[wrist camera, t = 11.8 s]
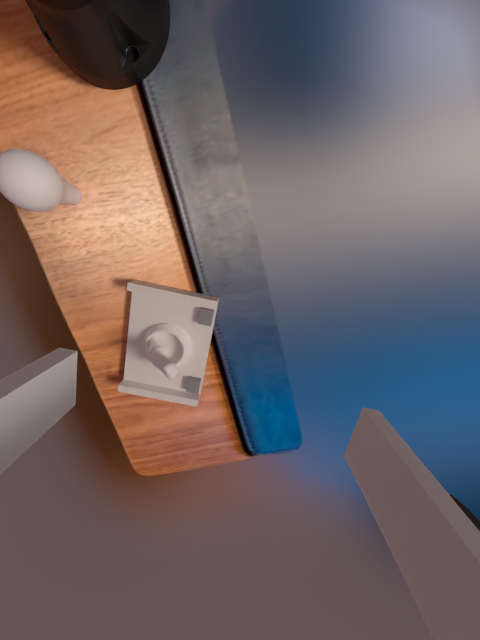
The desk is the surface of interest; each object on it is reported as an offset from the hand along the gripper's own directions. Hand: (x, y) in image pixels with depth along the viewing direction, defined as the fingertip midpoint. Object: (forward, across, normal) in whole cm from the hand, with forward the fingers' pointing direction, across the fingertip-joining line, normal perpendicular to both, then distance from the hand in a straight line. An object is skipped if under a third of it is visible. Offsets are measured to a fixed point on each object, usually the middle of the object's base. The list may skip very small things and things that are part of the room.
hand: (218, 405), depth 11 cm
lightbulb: (+29, -25, +9) cm, 39 cm away
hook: (+28, -9, -10) cm, 31 cm away
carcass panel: (+29, -9, -10) cm, 32 cm away
